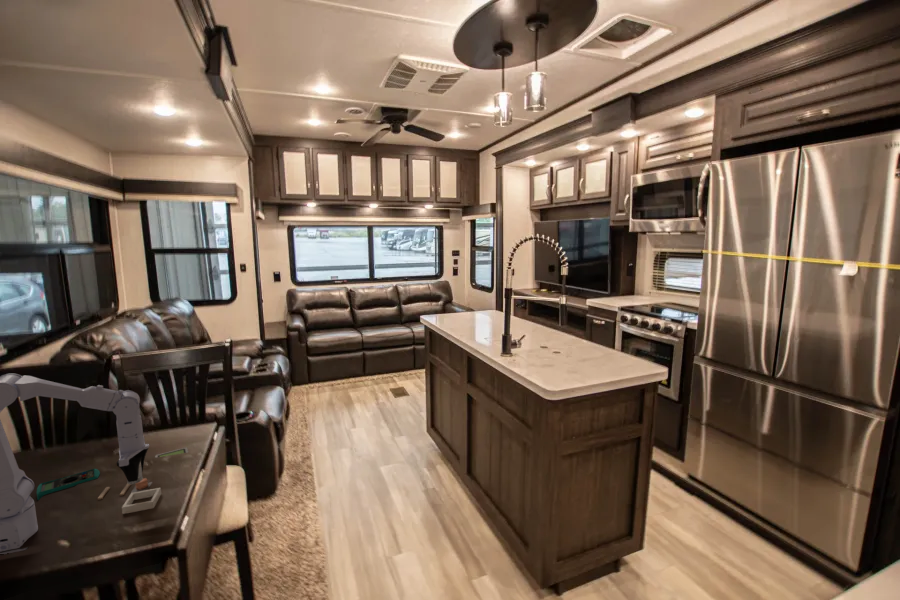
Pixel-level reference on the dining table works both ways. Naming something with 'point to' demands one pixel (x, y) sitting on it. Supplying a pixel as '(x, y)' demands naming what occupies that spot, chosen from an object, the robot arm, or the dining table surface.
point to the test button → (142, 484)
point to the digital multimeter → (66, 482)
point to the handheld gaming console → (173, 452)
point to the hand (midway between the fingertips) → (135, 476)
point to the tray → (130, 507)
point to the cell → (138, 476)
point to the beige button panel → (123, 490)
